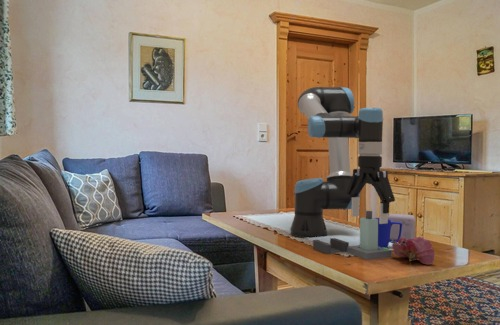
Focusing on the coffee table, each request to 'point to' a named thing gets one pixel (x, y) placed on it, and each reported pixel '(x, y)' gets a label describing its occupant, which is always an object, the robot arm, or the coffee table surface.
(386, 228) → the mug
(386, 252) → the port
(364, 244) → the plug
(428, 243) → the flower
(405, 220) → the electronic device
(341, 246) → the holster
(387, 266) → the coffee table surface
